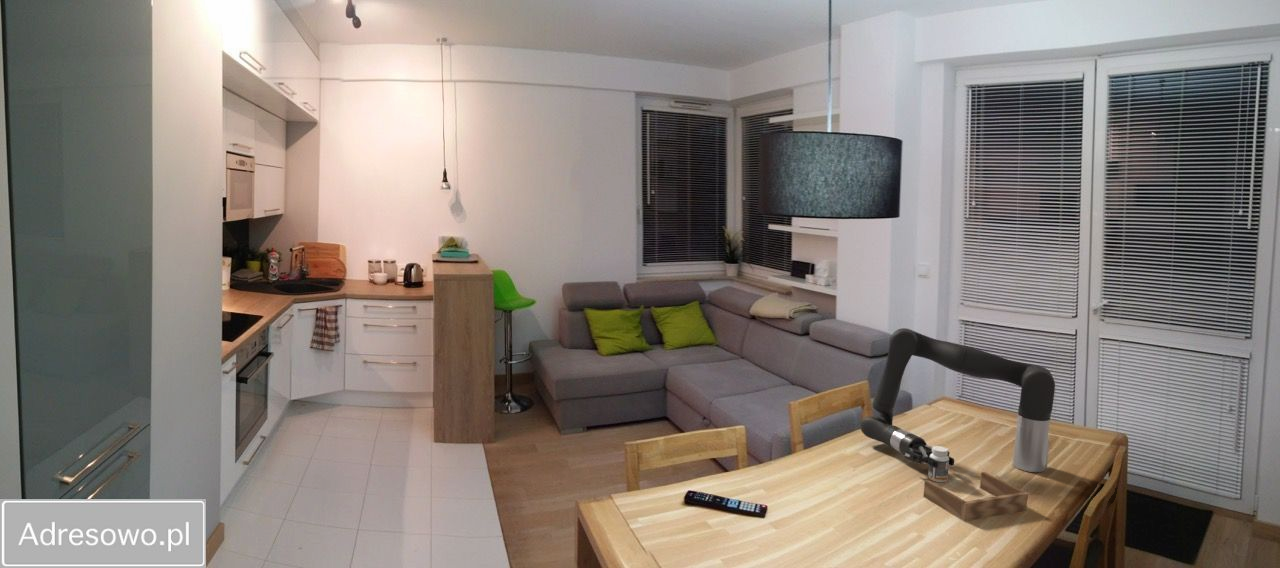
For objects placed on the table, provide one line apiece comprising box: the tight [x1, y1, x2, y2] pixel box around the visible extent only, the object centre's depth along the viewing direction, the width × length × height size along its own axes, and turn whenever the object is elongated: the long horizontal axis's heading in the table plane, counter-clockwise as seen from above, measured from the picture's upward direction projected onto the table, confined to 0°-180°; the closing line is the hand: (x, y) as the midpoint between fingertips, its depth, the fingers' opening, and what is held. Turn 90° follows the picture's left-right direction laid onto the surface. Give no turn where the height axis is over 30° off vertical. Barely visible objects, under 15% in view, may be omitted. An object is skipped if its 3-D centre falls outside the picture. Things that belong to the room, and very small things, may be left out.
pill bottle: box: [927, 445, 950, 483], centre depth 225 cm, size 6×6×10 cm
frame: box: [923, 471, 1029, 522], centre depth 209 cm, size 22×16×5 cm
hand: (945, 463), depth 223 cm, fingers closed on pill bottle, 5 cm apart
